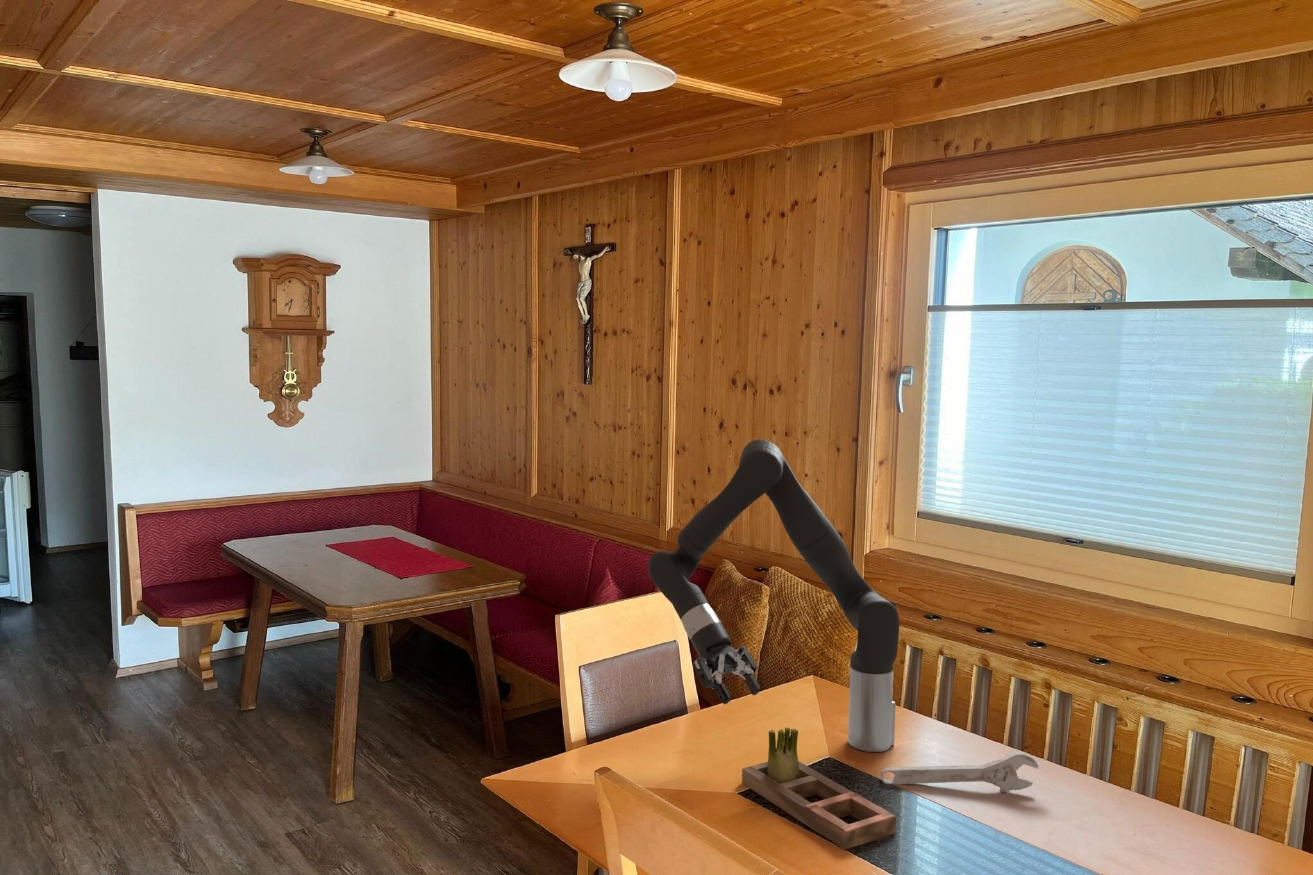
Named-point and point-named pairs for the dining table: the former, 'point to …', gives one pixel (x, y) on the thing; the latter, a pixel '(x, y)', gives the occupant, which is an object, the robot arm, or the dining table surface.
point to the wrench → (968, 773)
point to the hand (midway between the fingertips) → (742, 697)
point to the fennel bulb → (783, 756)
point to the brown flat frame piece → (823, 805)
